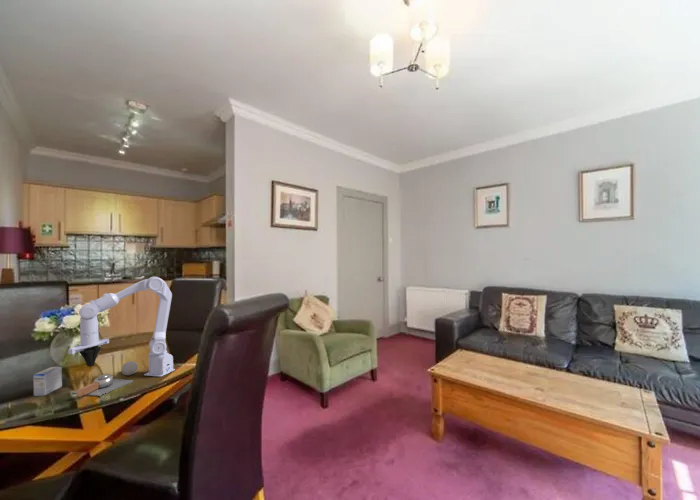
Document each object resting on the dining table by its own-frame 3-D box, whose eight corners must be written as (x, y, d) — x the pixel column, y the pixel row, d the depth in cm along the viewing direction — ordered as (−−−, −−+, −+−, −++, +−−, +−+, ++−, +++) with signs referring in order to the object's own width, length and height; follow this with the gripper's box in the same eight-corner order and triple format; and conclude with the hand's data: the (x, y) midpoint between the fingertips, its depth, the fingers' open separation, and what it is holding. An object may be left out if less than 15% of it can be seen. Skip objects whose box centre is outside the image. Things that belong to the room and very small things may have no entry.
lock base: (133, 381, 132) (133, 380, 132) (99, 396, 118) (99, 395, 118) (107, 379, 135) (107, 378, 135) (72, 393, 122) (72, 392, 122)
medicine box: (51, 387, 129) (50, 367, 129) (62, 386, 129) (61, 366, 129) (33, 396, 121) (32, 374, 121) (45, 395, 121) (44, 373, 121)
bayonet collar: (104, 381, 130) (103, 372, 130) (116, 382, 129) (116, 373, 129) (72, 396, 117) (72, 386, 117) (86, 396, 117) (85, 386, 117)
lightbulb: (120, 376, 143) (124, 378, 136) (116, 363, 143) (121, 365, 136) (135, 370, 148) (140, 372, 140) (132, 358, 148) (137, 359, 140)
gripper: (100, 328, 135) (101, 359, 135) (62, 337, 121) (63, 372, 121) (112, 328, 133) (113, 360, 133) (75, 338, 119) (76, 373, 119)
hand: (90, 365), depth 127 cm, fingers closed
